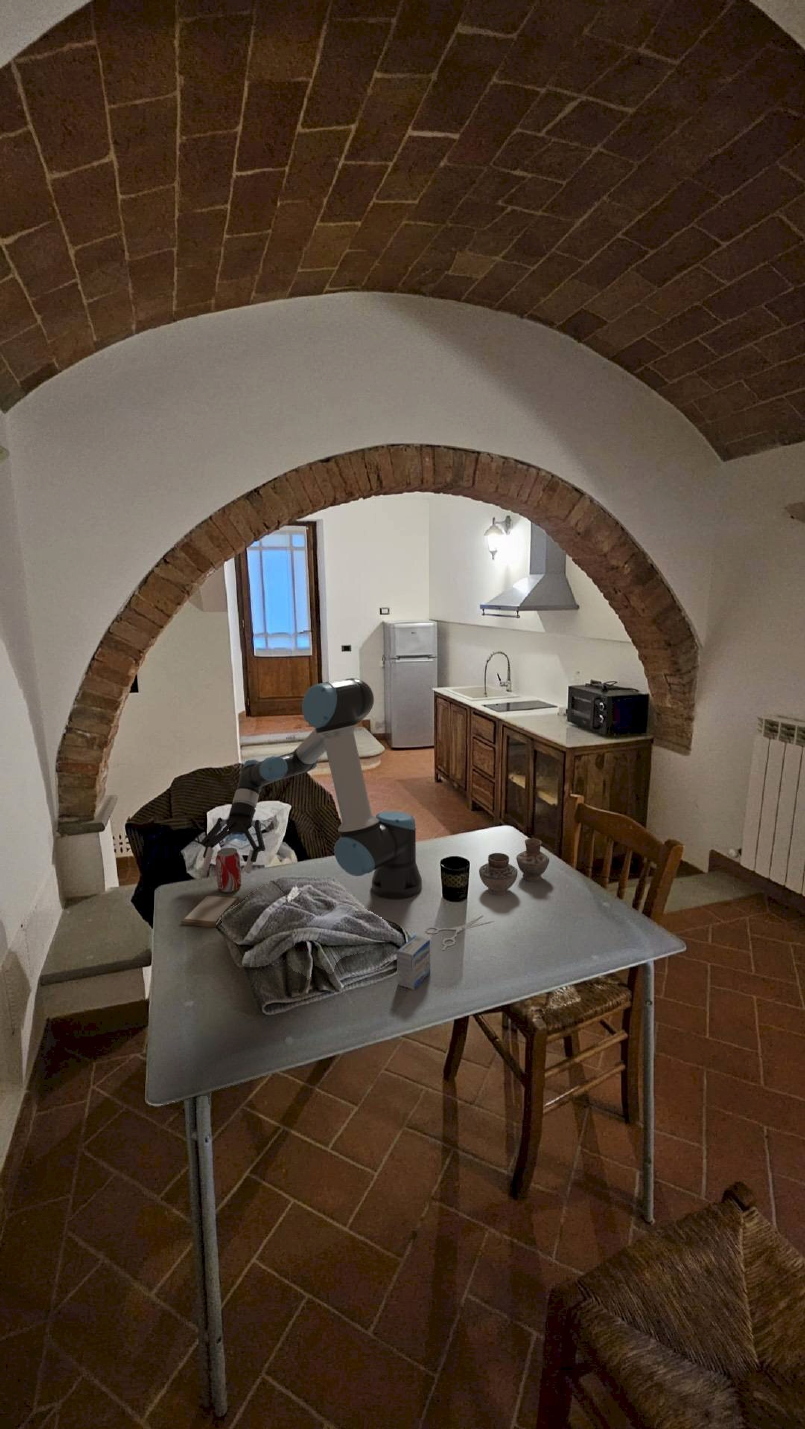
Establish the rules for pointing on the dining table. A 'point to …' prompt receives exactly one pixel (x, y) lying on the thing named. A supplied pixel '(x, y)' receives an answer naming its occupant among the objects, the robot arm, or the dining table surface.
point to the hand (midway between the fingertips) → (226, 870)
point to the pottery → (513, 868)
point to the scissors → (458, 929)
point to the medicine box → (413, 962)
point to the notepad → (209, 910)
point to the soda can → (228, 870)
